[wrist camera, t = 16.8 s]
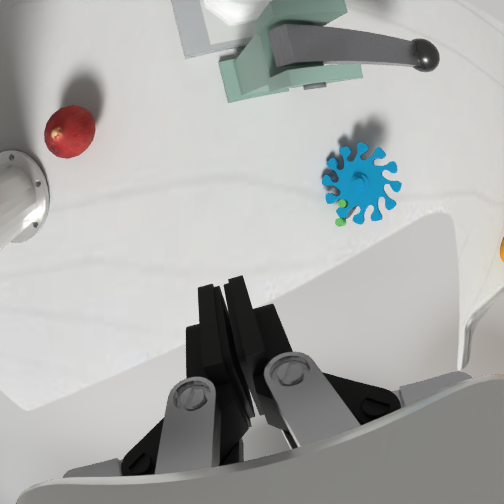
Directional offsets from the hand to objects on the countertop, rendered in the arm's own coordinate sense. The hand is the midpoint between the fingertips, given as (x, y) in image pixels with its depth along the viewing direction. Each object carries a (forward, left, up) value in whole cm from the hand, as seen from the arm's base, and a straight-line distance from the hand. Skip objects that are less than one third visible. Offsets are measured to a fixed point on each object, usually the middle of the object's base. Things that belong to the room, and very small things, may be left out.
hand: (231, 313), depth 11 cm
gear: (+17, -5, -27) cm, 33 cm away
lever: (+15, +10, -14) cm, 22 cm away
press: (+8, +16, -27) cm, 32 cm away
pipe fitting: (+8, +19, -26) cm, 33 cm away
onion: (-13, +10, -27) cm, 32 cm away
